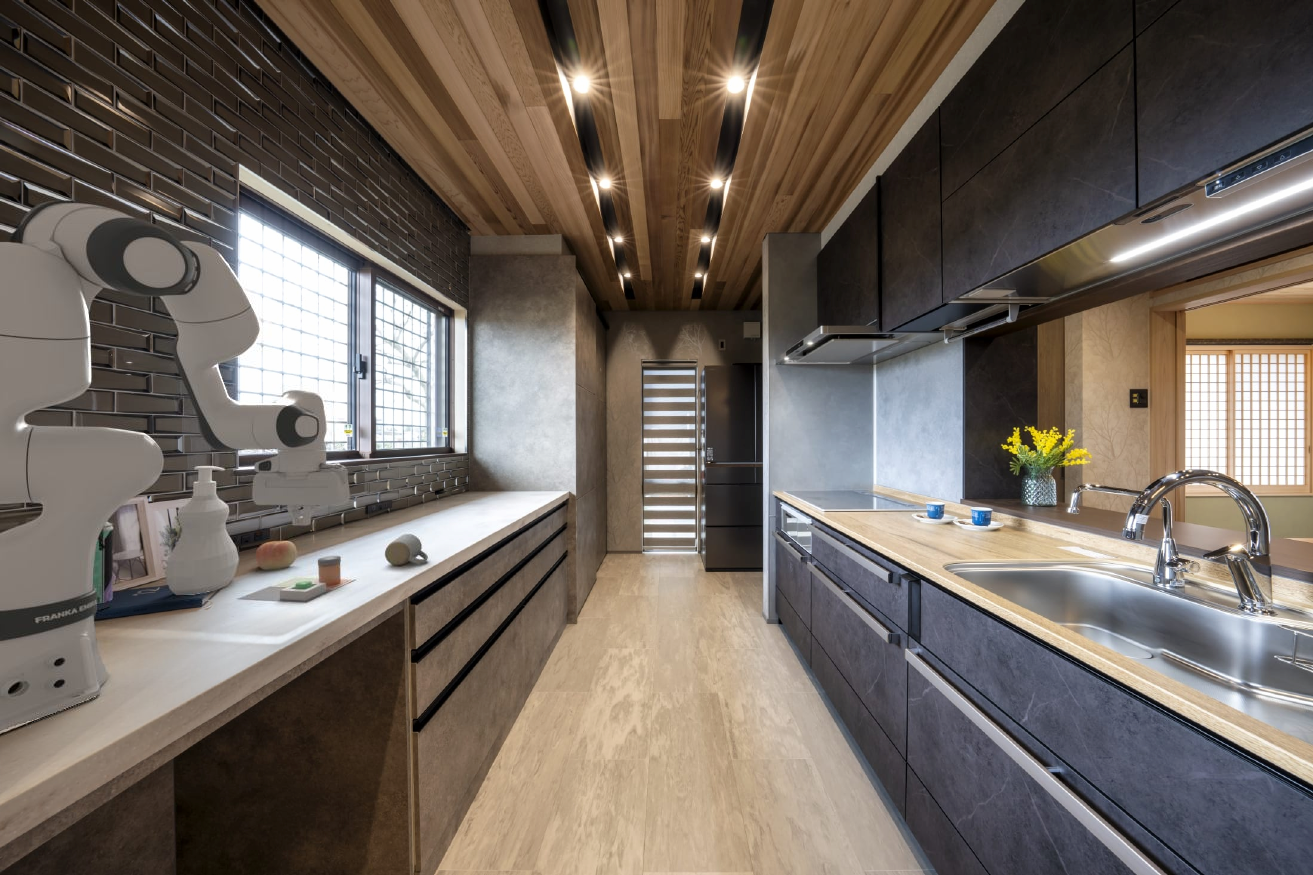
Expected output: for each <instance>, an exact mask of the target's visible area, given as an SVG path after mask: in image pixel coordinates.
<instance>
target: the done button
mask: <svg viewBox="0 0 1313 875" xmlns="http://www.w3.org/2000/svg"><path fill="white" fill-rule="evenodd" d="M310 587H312V582H311V581H304V582H299V583H296V584H295V589H307V588H310Z"/></svg>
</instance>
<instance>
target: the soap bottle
mask: <svg viewBox="0 0 1313 875" xmlns="http://www.w3.org/2000/svg"><path fill="white" fill-rule="evenodd" d="M193 470H195V471H196V470H198V471H197V472H198V475H197V476H198V477H197V481H193V487H192V488H193V490H192V491H193V492H192V494H193V495H192V496H191V499H190V500H189V501H187V503H186V504H184V506H183V507H182V508H181V509H179V511H178V515H177V519H178V523H179V525H180V526H181V535H180V537H179V539H178V542H177V543H176V544H175V546H174V548H173V550H172V552H171V553H170V555H169V557H168V560H167V564H166V568H165V571H164V574H165V578H166V581H167V584H168V588H169V590H170V591H171V592H172V593H173V594H175V595H176V596H177V595H186V594H197V593H205V592H207V591H212V592H215V591H217V590H221V589H223V588H224V587H227V586H228V585H229V584H230V582H231V581H232V580H233V578H234V577H235V575H236V571H237V569H238V565H239V562H240V557H239V555H238V554H239V553H238V550H237V546H236V544H235V543H234V542H233V539H232V538H231V536H230V535H229V533H228V531H227V528H226V527H227V526H226V525H227V524H226V522H227V519H228V517H229V514H230V508H229V505H228V504H227V503H226V502H225V501H223V500H222V499H220V498H219V497H218V494H217V481H214V480H212V478H213V477H212V476H213V475H212V474H213V470H214V471H221V472H225V470H226V469H225V468H224V467H219V466H213V465H201V466H198V465H197V466H195V467H193ZM205 594H206V593H205Z"/></svg>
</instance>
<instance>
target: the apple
mask: <svg viewBox="0 0 1313 875" xmlns="http://www.w3.org/2000/svg"><path fill="white" fill-rule="evenodd" d="M297 555H298V552H297V548H296V545H295V544H294V543H293V542H291V541H290V540H279V541H278V540H274V541H269V542H265V543H262V544H261V545H260V546H259V547H258V548H257V550H256V553H255V559H256V563H257V566H259V567H260V568H261V569H262V570H265V571H269V570H273V571H274V570H279V569H285V568H289V567H290V566H292V565H293V564H294V562H295V561H296V559H297Z"/></svg>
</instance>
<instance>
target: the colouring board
mask: <svg viewBox="0 0 1313 875" xmlns="http://www.w3.org/2000/svg"><path fill="white" fill-rule="evenodd" d="M304 581H311V582H312V587H310V588H307V589H295V584H296V583H299V582H304ZM355 581H356V579H355V578H354V579H352V578H351V579H349V578H341V582H340V583H338V584H335V585H330V586H326V583H319V577H310V576H309V577H308V576H294V577H291V578H288V579H286V580H283V581H280V582H277V583H275V584H271V585H270V586H267V587H265V588H262V589H259V590H257V591H254V592H251V593H248V594H246V595H244V596H241V597H238V598H237V600H244V601H245V600H247V601H264V602H265V601H268V602H269V601H270V602H282V603H283V602H289V603H303V604H305V603H309V602H311V601H314V600H317V599H318V598H320V597H322V596H324V595H327V594H329V593H331V592H333V591H335V590H337V589H339V588H342V587H344V586H346V585H348V584H351V583H353V582H355Z"/></svg>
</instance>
